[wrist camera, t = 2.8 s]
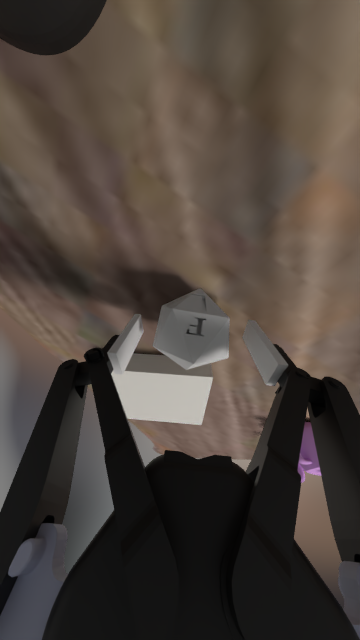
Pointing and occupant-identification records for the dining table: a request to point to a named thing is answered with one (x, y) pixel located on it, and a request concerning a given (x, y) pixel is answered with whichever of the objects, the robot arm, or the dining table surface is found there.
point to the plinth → (163, 389)
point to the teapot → (308, 454)
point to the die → (193, 330)
